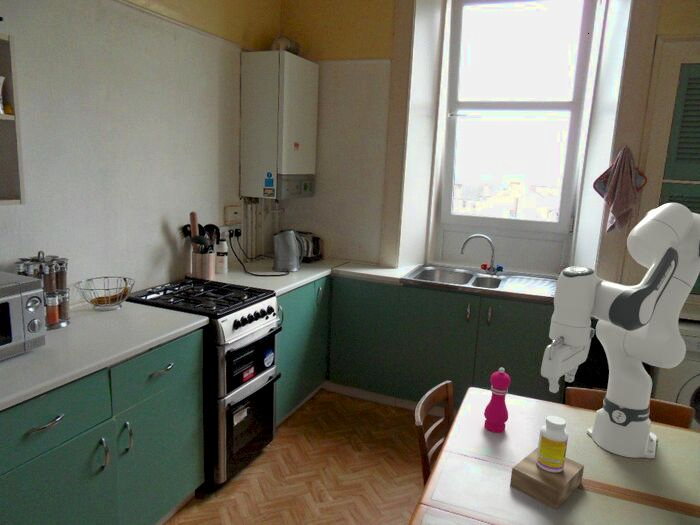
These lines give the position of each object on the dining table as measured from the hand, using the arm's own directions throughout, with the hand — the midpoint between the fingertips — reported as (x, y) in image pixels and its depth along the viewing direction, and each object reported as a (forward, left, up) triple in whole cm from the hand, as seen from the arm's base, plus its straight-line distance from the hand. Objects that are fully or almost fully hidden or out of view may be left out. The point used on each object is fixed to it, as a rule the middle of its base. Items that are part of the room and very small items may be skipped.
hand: (561, 386), depth 125 cm
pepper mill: (-16, -24, -27) cm, 39 cm away
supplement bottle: (0, 0, -22) cm, 22 cm away
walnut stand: (0, 0, -27) cm, 27 cm away
